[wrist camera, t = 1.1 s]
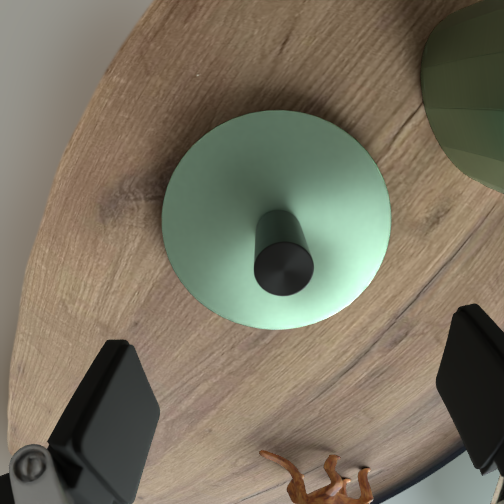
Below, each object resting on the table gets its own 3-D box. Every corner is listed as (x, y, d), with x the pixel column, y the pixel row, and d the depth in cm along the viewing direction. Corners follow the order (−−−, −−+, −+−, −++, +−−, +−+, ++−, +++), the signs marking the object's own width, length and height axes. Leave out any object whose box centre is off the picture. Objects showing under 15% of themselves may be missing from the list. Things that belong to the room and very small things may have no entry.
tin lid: (149, 129, 17) (101, 135, 12) (380, 105, 16) (430, 102, 11) (190, 326, 23) (170, 387, 17) (380, 307, 22) (410, 365, 16)
